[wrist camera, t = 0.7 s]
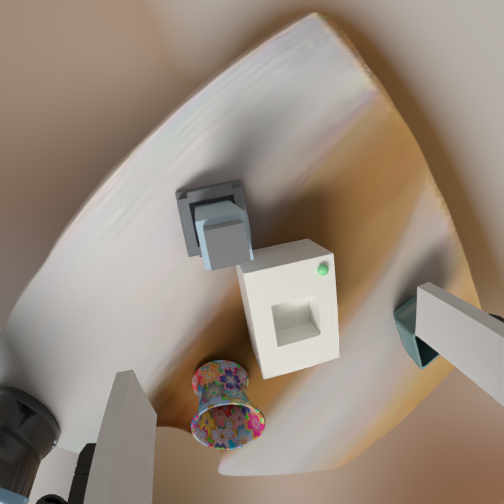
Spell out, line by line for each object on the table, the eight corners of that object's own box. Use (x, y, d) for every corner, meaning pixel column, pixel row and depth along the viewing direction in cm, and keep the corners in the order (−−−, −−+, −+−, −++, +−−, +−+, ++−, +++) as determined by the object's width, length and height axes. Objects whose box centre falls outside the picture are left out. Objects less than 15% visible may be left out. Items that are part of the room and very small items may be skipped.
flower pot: (392, 345, 48) (421, 371, 40) (380, 310, 46) (412, 335, 37) (428, 317, 48) (459, 338, 40) (418, 280, 46) (453, 299, 37)
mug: (186, 355, 41) (187, 404, 31) (251, 352, 43) (267, 398, 33) (193, 413, 44) (196, 462, 34) (249, 410, 46) (262, 456, 36)
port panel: (251, 346, 42) (264, 381, 34) (233, 254, 39) (244, 275, 31) (318, 328, 44) (341, 358, 36) (308, 238, 40) (336, 253, 32)
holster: (189, 255, 38) (188, 261, 35) (175, 192, 35) (174, 194, 33) (251, 242, 39) (255, 247, 36) (240, 179, 37) (243, 180, 34)
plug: (201, 238, 37) (206, 278, 23) (194, 205, 36) (195, 226, 21) (233, 231, 37) (258, 266, 23) (227, 199, 36) (249, 214, 22)
